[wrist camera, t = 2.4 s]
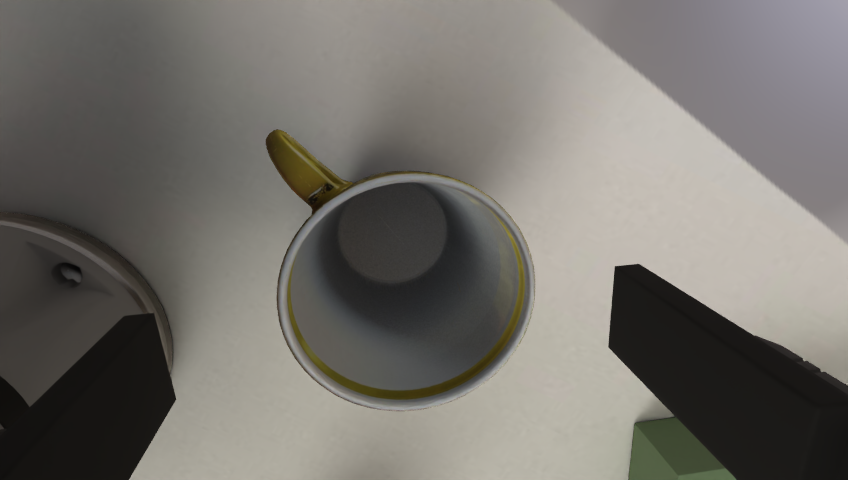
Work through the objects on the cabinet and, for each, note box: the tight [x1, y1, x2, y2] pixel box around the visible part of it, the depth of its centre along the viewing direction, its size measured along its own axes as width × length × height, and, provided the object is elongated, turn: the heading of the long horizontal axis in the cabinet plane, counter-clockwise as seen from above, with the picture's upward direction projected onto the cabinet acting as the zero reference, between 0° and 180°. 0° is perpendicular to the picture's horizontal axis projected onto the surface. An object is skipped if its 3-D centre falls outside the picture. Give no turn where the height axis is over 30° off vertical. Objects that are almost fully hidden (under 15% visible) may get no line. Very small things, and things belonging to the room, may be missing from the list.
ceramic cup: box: [266, 129, 535, 411], centre depth 22 cm, size 13×10×10 cm
